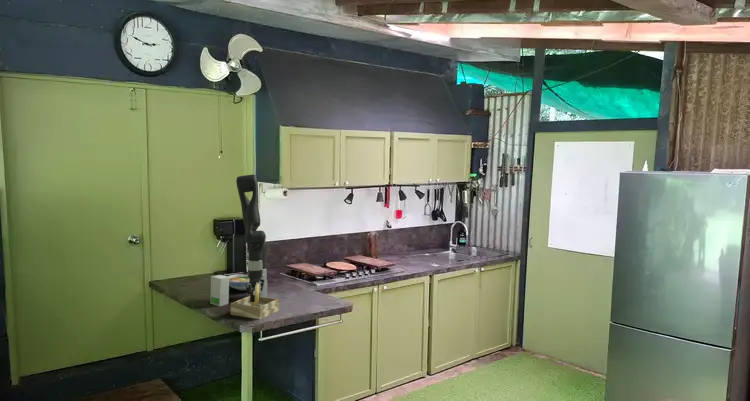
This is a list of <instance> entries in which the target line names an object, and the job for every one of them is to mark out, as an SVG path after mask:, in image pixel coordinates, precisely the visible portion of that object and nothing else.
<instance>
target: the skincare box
mask: <svg viewBox="0 0 750 401" xmlns="http://www.w3.org/2000/svg"><path fill="white" fill-rule="evenodd" d="M227 276H228V275H227ZM227 276H226V275H222V274H217V275H211V276H210V304H211V305H213V306H218V307H222V306H226V305H229V299H230V298H229V297H230V296H229V295H230V293H229V292H230V286H229V277H227Z"/></svg>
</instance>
